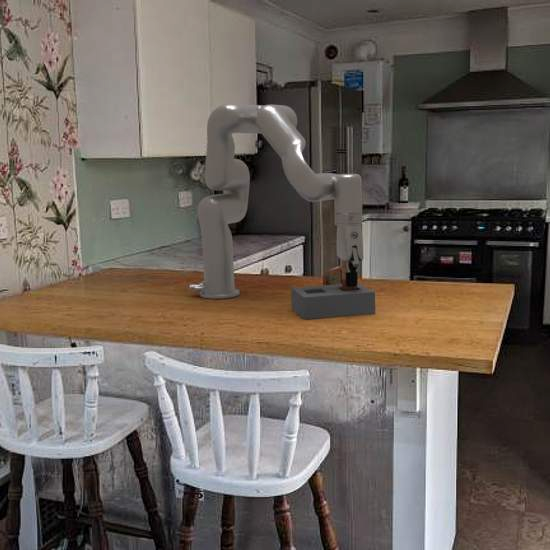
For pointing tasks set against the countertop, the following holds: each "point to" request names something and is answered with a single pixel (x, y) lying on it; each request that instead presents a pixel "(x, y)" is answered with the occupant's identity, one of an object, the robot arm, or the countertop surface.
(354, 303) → the bore block
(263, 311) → the countertop surface
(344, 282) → the pin
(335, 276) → the tin
